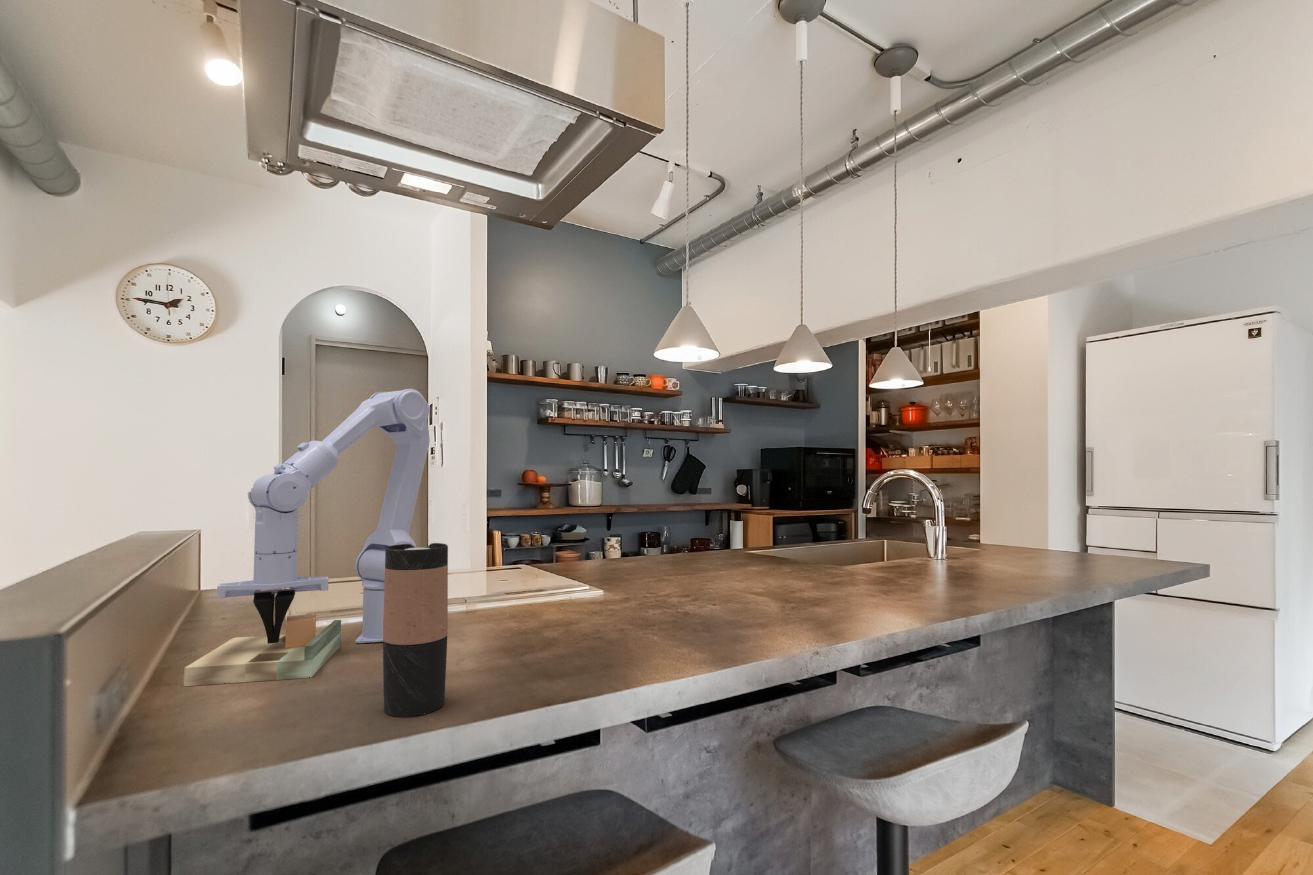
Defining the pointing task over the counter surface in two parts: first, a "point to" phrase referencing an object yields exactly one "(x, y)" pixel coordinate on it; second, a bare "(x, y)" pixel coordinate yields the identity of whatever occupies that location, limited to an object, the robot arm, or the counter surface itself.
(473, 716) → the counter surface
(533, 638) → the counter surface
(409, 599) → the travel mug
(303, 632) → the block
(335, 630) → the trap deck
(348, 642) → the counter surface
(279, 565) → the robot arm
